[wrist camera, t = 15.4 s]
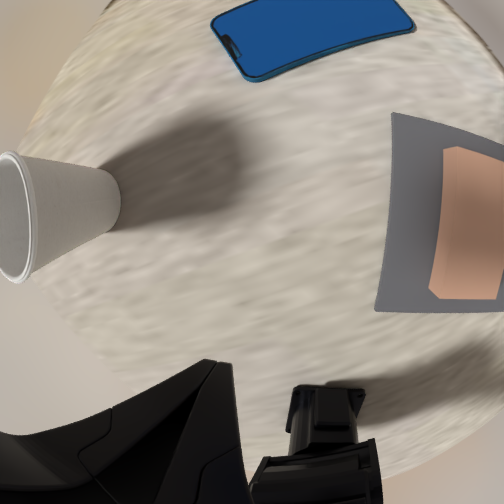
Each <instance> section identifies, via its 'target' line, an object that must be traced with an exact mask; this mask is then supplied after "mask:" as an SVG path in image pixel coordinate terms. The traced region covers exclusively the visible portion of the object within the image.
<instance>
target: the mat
mask: <svg viewBox="0 0 504 504" xmlns="http://www.w3.org/2000/svg"><path fill="white" fill-rule="evenodd" d="M391 119H392V173H391V193H390V206H389V218H388V227H387V236H386V244H385V251H384V258H383V265H382V271H381V277H380V282H379V288H378V293H377V298H376V303H375V308H374V310H375V311H376V312H405V313H480V312H504V269H503V274H502V278H501V282H500V286H499V290H498V293H497V297H496V299H439V298H438V297H437V296H436V295H435V294H434V293H433V292H432V291H431V290H430V289H429V288H428V287H429V283H430V278H431V273H432V268H433V263H434V257H435V252H436V245H437V239H438V231H439V223H440V214H441V203H442V188H443V149H447V148H451V147H456V146H458V147H461V148H464V149H468V150H471V151H474V152H477V153H480V154H483V155H486V156H489V157H492V158H494V159H497V160H500V161H503V162H504V145H501V144H499V143H496V142H494V141H491V140H489V139H486V138H484V137H481V136H478V135H475V134H473V133H470V132H467V131H464V130H461V129H458V128H454V127H451V126H448V125H444V124H441V123H437V122H433V121H430V120H426V119H422V118H417V117H413V116H409V115H404V114H399V113H394V112H393V113H391Z"/></svg>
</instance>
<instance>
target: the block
mask: <svg viewBox="0 0 504 504" xmlns="http://www.w3.org/2000/svg"><path fill="white" fill-rule="evenodd" d="M503 269H504V162H503V161H500V160H497V159H494V158H492V157H489V156H486V155H483V154H480V153H477V152H474V151H471V150H468V149H464V148H461V147H458V146H456V147H451V148H447V149H443V188H442V203H441V214H440V223H439V231H438V239H437V245H436V252H435V257H434V263H433V268H432V273H431V278H430V283H429V287H428V288H429V289H430V290H431V291H432V292H433V293H434V294H435V295H436V296H437V297H438V298H439V299H496V297H497V293H498V290H499V286H500V282H501V278H502V274H503Z"/></svg>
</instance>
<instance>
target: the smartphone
mask: <svg viewBox="0 0 504 504" xmlns="http://www.w3.org/2000/svg"><path fill="white" fill-rule="evenodd" d="M210 27H211V29H212V31H213V32H214V34H215V35H216V37H217V38H218V40H219V41H220V42H221V44H222V45H223V47H224V48H225V50H226V51H227V53H228V54H229V56H230V57H231V59H232V60H233V62H234V64H235V65H236V67H237V68H238V70H239V71H240V73H241V75H242V76H243V78H244V79H245V80H247V81H249V82H255V83H256V82H262V81H264V80H266V79H268V78H270V77H272V76H275V75H277V74H279V73H282V72H284V71H286V70H288V69H291V68H293V67H296V66H298V65H301V64H303V63H306V62H308V61H311V60H313V59H316V58H319V57H321V56H324V55H327V54H330V53H333V52H336V51H339V50H342V49H345V48H348V47H352V46H355V45H358V44H362V43H365V42H369V41H373V40H377V39H381V38H386V37H390V36H394V35H399V34H404V33H409V32H411V31H412V30H413V29H414V23H413V21H412V20H411V18H410V17H409V16H408V15H407V14H406V12H405V11H404V10H403V9H402V8H401V7H400V6H399V4H398V3H397V2H396V1H395V0H252V1H249V2H247V3H244V4H242V5H240V6H237V7H235V8H233V9H230V10H228V11H226V12H224V13H222V14H220V15H218V16H216V17H215V18H213V19H212V21H211V23H210Z"/></svg>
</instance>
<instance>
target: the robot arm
mask: <svg viewBox="0 0 504 504" xmlns="http://www.w3.org/2000/svg"><path fill="white" fill-rule="evenodd" d="M297 391H299V392H297ZM359 394H360V395H359ZM365 396H366V393H365V390H364V389H338V388H315V387H301V386H297V387H295V388H293V391H292V397H291V403H290V408H289V413H288V419H287V424H286V429H285V430H286V432H287V433H291V437H290V445H289V452H288V456H278V457H271V456H266V457H263V459H262V461H261V463H260V465H259V466H258V468H257V470H256V472H255V474H254V476H253V478H252V480H251V481H250V483H249V485H248V482H247V478H246V474H245V469H244V463H243V457H242V449H241V442H240V433H239V425H238V416H237V407H236V397H235V387H234V377H233V367H232V364H231V363H227V362H217V361H215V360H210V359H203V360H201V361H199V362H197V363H196V364H194V365H192V366H190V367H188V368H187V369H185V370H183V371H181V372H179V373H178V374H176V375H174V376H172V377H170V378H168V379H167V380H165V381H163V382H161V383H159V384H157V385H155V386H153V387H151V388H149V389H147V390H146V391H144V392H142V393H140V394H138V395H136V396H134V397H132V398H130V399H128V400H125V401H124V402H121V403H119V404H117V405H115V406H113V407H112V408H109V409H106V410H104V411H102V412H100V413H98V414H95V415H93V416H90V417H88V418H85V419H83V420H80V421H77V422H74V423H71V424H68V425H65V426H61V427H57V428H54V429H50V430H46V431H43V432H39V433H34V434H30V435H11V434H7V433H3V432H0V504H383V492H382V483H381V474H380V467H379V460H378V454H377V448H376V443H375V438H372V439H368V441H365V442H361V443H359V442H358V433H357V425H356V418H357V415H358V413H359V411H360V408H361V406H362V403H363V401H364V398H365Z"/></svg>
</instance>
